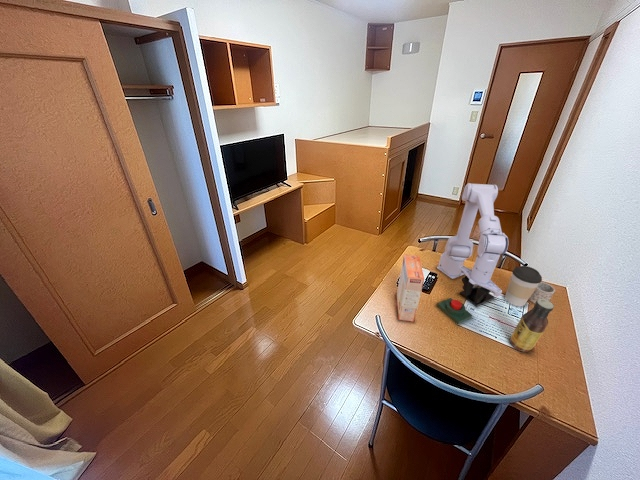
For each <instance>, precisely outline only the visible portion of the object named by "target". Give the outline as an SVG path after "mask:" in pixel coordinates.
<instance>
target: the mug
mask: <svg viewBox="0 0 640 480" xmlns="http://www.w3.org/2000/svg"><path fill="white" fill-rule="evenodd" d="M555 292H556V288H555V287H554V286H553V285H551V283H550V284H549V283H547V282H544V281H541V282H540V283H539V284H538V287H537V288H536V290H535V291H534V293H533V294H532V295H531V297H530V298H529V299H528V300H529V301H530V302H531V303H533V304H535V302H536V301H537V300H538V299H546V300H548V301H551V298H552V297H553V295H554V293H555Z"/></svg>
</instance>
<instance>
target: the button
mask: <svg viewBox="0 0 640 480" xmlns="http://www.w3.org/2000/svg"><path fill="white" fill-rule="evenodd" d="M462 304H463V302H461V301H460V300H458V299H453V300H452V301H451V304H450V306H451V307H452V308H453V309H455V310H460V309H461V306H462Z"/></svg>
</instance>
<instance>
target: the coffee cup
mask: <svg viewBox="0 0 640 480" xmlns="http://www.w3.org/2000/svg"><path fill="white" fill-rule="evenodd" d="M542 280H543V277H542V275H541V273H540V271H538V270H537V269H536V268H533V267H532V266H529V265H520V266H516V267H514V269H513V270H512V274H511V275H510V278H509V281H508V285H507V288H506V291H505V295H504V299H505V300H506V302H508V303H509V304H510V305H513V306H516V307H523V306H525V305H526V303H527V302H528V300H529V298H530V297H531V295H532V294H533V293H534V291H535V290H536V288H537V287H538V284H539V283H540V282H543V281H542Z"/></svg>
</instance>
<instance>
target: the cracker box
mask: <svg viewBox="0 0 640 480" xmlns="http://www.w3.org/2000/svg"><path fill="white" fill-rule="evenodd" d="M423 270H424V269H423V266H422V262H421V257H420V255H418V254H417V255H415V254H406V253H403V258H402V263H401V269H400V274H399V279H398V285H397V290H396V306H397V318H398V320H399V321H406V322H412V323H414V321H415V318H416V314H417V311H418V307H419V302H420V299H421V295H422V290H423V286H424V283H425V275H424V271H423Z"/></svg>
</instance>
